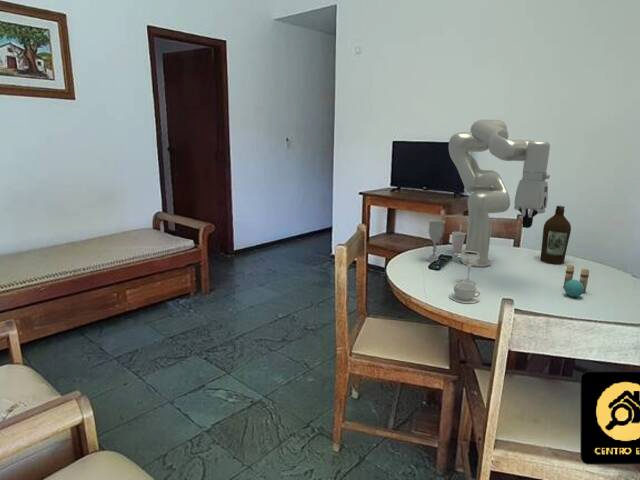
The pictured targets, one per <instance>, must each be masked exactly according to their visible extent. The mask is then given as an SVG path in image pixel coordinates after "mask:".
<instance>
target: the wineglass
mask: <svg viewBox="0 0 640 480" xmlns="http://www.w3.org/2000/svg"><path fill="white" fill-rule="evenodd" d="M461 252H462V255H461V258H460V260H462V262H463V263H464V265H465V264H466V266H467V279H463V280H460V282H464V283H470V284H473V285H475V281H472V280H469V278H470V271H471V267H473V266H472V265H475V264H477V263H478V262H479V260H480V256H479V254H480V252H478V251H475V250H465V249H462V251H461ZM463 263H462V264H463Z"/></svg>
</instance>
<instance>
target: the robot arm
mask: <svg viewBox="0 0 640 480" xmlns="http://www.w3.org/2000/svg"><path fill="white" fill-rule="evenodd" d="M507 126H508V125H507V124H506V123H505V122H504V121H503V120H500V119H478V120H477V121H474V122H473V124H471V127H470V131H461V132H457V133H454V134H453V135H452V136H451V137H450V138H449V139H448V140H449V142H448V152H449V157H450V159H451V160H452V162H453V164H454V165H455V167H456V170H457V171H458V174H459V176H460V179H461V181H462V183H463V186H464V188H465V189H466V191H467V192H470V194H469V196H468V199H467V211H468V216H467V217H468V220H467V221H468V222H467V230H466V241H465V249H464V250H475V251H478V252H480V254H479V256H480V260H479V262H478V263H477V264H475V265H472V266H471V267H475V268H476V267H477V268H486V267H490V266H491V265H492V261H491V260H490V259H488V258H489V251H490V242H491V235H492V233H491V232H492V227H493V226H492V221H491V217H489V214H500V213H504V212H507V211H508V210H509V208H510V206H511V198H510V197H511V196H510V194H509V192H508V190H507V188H506V185H505V182H504V181H503V179H502V177H501V175H500V174H499V173H498V172H497V171H495V170H491V169H481V168H480V166H479V165H478V162H477V160H476V159H475V157H474V156H472V155H471V154H470V153H473V152H474V153H479V152H485V151H489V153H490V154H491V155H492V156H494V157H496V158H497V159H499V160H501V161H505V162H523V167H522V174H521V175H522V176H521V179H519V182H518V185H517V188H516V191H515V194H514V195H515V196H514V201H513V202H514V206H513V209H514V210H516V211H519V212H520V214H521V216H522V220H521V225H522V228H524V229H525V228H526V229H530V228H532V226H533V221H534V217H536V216H537V215H539V214H545V213H546V210H545V209H546V208H547V206H548V198H549V184H548V181H546V180H548V179H550V178H551V175H550V174H548V173H547V171H548V162H549V157H550V149H551V144H550V142H548V141H542V140H541V141H539V140H536V141H535V140H531V139H509V132H508V128H507ZM469 152H470V153H469ZM452 255H453V258H457V259H460V263H462V264H464V263H463V262H462V260H461V255H462V251H461V253H453V254H452ZM464 265H466V264H464ZM466 266H467V265H466Z"/></svg>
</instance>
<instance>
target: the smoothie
mask: <svg viewBox="0 0 640 480" xmlns="http://www.w3.org/2000/svg"><path fill="white" fill-rule="evenodd" d="M451 236H452V237H451V239H452V240H451V241H452V242H451V243H452V253H453V254H454V253H461V252H462V250H463V247H464V242H465V238H466V237H467V232H462V223H460V225H459V231H452V232H451Z"/></svg>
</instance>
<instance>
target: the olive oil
mask: <svg viewBox="0 0 640 480" xmlns="http://www.w3.org/2000/svg"><path fill="white" fill-rule="evenodd" d="M565 208H566V207H565V206H564V205H556V208H555V211H554V215H552V216H551V217H550V218H548V219H547V220H546V221H545V223H544V225H543V228H542V229H543V230H542V239H541V240H542V241H541V251H540V261H541V262H543V263H545V264H551V265H563V264H565V259H566V255H567V249H568V244H569V240H570V236H571V231H572V226H571V223H570V221H569V220H568V219H567V218H566V217H565Z"/></svg>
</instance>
